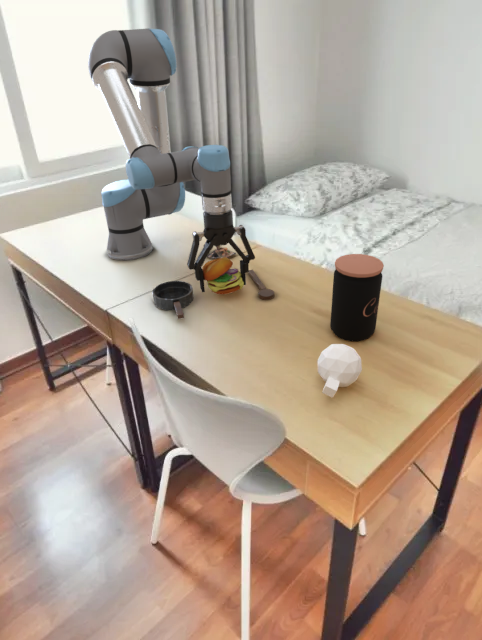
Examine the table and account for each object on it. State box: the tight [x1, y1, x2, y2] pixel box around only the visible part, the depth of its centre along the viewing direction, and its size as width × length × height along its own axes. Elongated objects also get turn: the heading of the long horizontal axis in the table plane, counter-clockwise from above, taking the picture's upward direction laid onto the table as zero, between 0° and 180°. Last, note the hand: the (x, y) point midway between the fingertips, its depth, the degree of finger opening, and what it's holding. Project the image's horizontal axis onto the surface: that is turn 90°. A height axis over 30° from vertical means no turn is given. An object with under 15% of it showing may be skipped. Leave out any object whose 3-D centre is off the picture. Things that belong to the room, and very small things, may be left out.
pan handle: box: [173, 301, 185, 320], centre depth 120 cm, size 7×2×3 cm, turn 16°
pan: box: [151, 280, 195, 311], centre depth 128 cm, size 11×11×4 cm
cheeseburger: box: [201, 257, 245, 296], centre depth 128 cm, size 10×11×10 cm
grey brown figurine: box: [202, 243, 237, 259], centre depth 149 cm, size 8×11×20 cm
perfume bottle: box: [316, 343, 363, 398], centre depth 93 cm, size 9×9×12 cm
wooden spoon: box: [248, 269, 275, 301], centre depth 134 cm, size 17×4×1 cm, turn 16°
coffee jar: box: [329, 253, 385, 343], centre depth 107 cm, size 11×11×18 cm
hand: (223, 286), depth 129 cm, fingers closed on cheeseburger, 11 cm apart
